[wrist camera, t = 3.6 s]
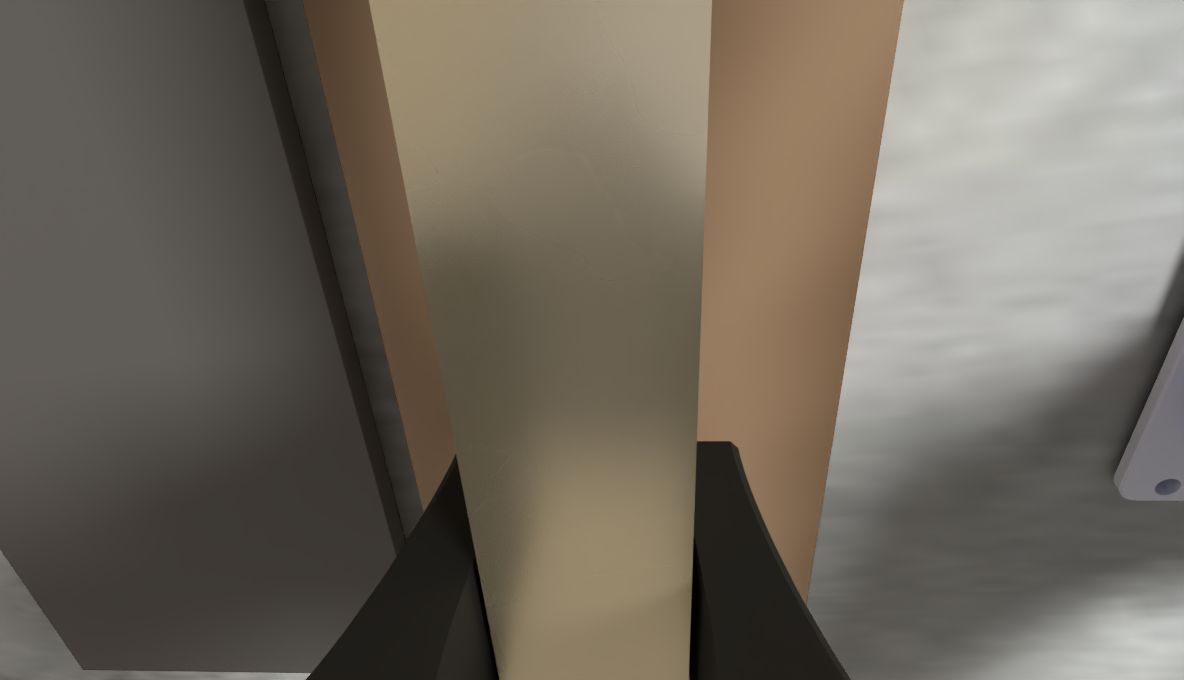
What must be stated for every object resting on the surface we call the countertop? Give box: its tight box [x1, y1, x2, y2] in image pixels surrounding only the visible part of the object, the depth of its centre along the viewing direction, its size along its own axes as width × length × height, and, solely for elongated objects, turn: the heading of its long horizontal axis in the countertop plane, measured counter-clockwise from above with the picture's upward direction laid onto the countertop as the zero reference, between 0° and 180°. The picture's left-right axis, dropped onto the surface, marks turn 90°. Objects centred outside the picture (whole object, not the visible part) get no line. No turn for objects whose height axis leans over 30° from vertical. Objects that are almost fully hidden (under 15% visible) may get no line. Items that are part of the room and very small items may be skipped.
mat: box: [0, 0, 406, 673], centre depth 18 cm, size 10×28×1 cm, turn 2°
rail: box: [369, 0, 712, 680], centre depth 11 cm, size 2×25×2 cm, turn 3°
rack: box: [302, 0, 904, 680], centre depth 15 cm, size 9×28×7 cm, turn 2°
